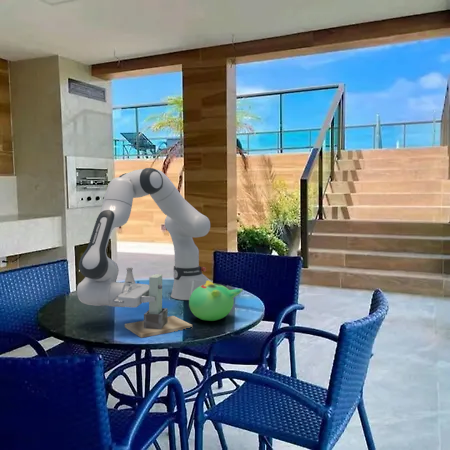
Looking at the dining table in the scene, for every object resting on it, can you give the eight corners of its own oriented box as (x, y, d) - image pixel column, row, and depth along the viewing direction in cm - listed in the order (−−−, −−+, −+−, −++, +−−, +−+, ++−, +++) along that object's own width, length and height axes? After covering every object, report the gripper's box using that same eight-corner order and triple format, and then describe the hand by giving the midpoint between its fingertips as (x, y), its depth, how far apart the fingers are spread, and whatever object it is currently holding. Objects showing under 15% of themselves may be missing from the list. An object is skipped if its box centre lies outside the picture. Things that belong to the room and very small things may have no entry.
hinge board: (173, 318, 182) (173, 302, 181) (192, 328, 170) (192, 311, 170) (124, 327, 170) (124, 310, 170) (141, 337, 159) (141, 319, 158)
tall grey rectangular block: (154, 317, 173) (154, 274, 171) (165, 317, 172) (166, 274, 171) (149, 321, 167) (149, 277, 165) (161, 322, 166) (161, 277, 165)
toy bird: (211, 311, 194) (211, 275, 192) (244, 319, 183) (244, 281, 182) (180, 320, 180) (180, 282, 178) (213, 329, 169) (214, 289, 168)
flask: (133, 290, 229) (133, 269, 228) (119, 289, 230) (119, 269, 229) (139, 286, 236) (139, 267, 235) (125, 286, 237) (125, 266, 236)
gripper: (110, 292, 160) (149, 294, 158) (130, 280, 180) (165, 282, 178) (110, 310, 161) (149, 313, 159) (130, 296, 181) (165, 298, 179)
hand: (158, 296), depth 169 cm, fingers closed on tall grey rectangular block, 6 cm apart
